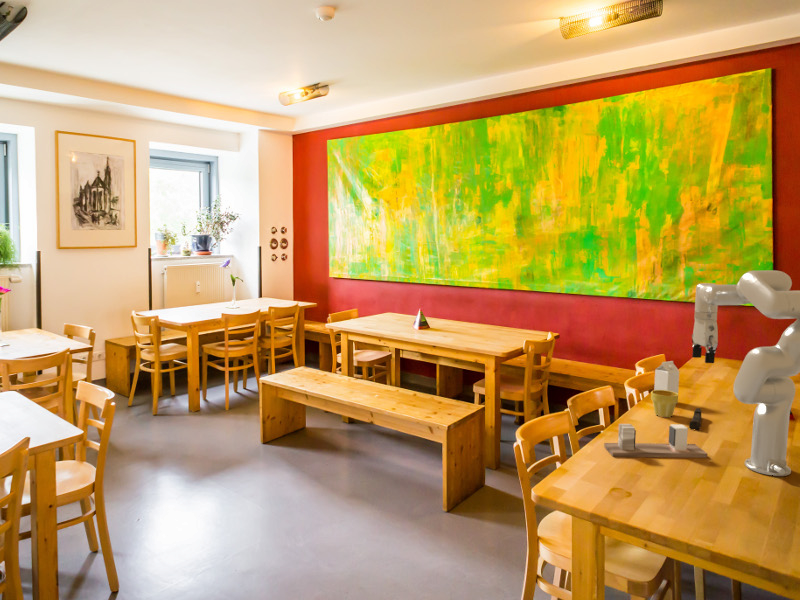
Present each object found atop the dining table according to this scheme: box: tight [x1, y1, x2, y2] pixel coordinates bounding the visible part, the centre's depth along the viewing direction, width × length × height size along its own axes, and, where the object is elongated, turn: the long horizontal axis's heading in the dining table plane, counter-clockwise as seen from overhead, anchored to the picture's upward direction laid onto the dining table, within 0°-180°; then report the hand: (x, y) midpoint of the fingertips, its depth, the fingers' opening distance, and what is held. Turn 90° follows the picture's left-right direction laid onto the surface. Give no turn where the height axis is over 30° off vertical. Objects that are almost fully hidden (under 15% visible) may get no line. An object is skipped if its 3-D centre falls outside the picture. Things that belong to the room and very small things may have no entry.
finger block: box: [668, 423, 689, 451], centre depth 195 cm, size 4×4×8 cm
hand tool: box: [688, 408, 702, 431], centre depth 226 cm, size 19×4×5 cm, turn 146°
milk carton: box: [653, 360, 680, 404], centre depth 255 cm, size 7×7×19 cm
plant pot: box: [650, 390, 679, 418], centre depth 237 cm, size 10×10×10 cm
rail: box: [603, 423, 708, 459], centre depth 196 cm, size 9×32×10 cm, turn 88°
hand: (703, 360), depth 214 cm, fingers open, 9 cm apart
